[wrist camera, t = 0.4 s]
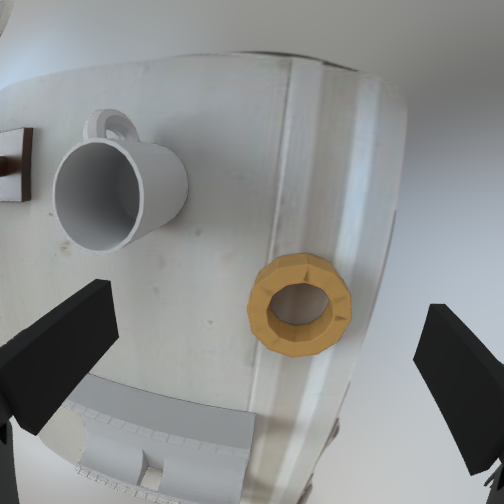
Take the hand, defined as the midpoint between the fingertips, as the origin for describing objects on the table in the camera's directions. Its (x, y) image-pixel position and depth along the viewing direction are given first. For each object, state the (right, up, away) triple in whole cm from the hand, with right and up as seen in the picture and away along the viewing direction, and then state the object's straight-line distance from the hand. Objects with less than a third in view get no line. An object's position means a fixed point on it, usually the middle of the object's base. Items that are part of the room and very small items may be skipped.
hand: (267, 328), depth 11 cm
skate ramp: (-14, -24, +24) cm, 37 cm away
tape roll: (+3, -1, +15) cm, 15 cm away
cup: (-10, +10, +13) cm, 19 cm away
